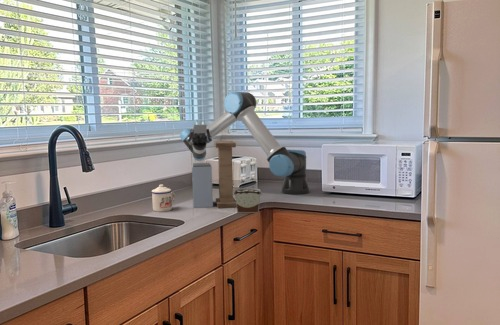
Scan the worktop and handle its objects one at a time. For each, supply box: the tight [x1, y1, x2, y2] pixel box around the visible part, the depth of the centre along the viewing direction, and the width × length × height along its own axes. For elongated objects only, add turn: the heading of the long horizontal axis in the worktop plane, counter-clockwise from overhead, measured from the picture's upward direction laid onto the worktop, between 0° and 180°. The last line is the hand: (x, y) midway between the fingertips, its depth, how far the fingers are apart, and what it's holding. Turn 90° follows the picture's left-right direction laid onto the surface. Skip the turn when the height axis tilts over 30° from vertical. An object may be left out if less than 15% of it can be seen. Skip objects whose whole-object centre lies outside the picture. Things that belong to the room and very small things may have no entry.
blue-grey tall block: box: [191, 162, 214, 209], centre depth 210 cm, size 11×9×20 cm
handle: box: [193, 123, 208, 133], centre depth 222 cm, size 19×6×4 cm, turn 8°
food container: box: [233, 187, 262, 214], centre depth 195 cm, size 12×6×10 cm, turn 84°
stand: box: [213, 140, 237, 209], centre depth 208 cm, size 14×9×30 cm, turn 8°
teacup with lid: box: [151, 184, 176, 213], centre depth 202 cm, size 12×9×12 cm
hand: (199, 124), depth 223 cm, fingers closed on handle, 2 cm apart
